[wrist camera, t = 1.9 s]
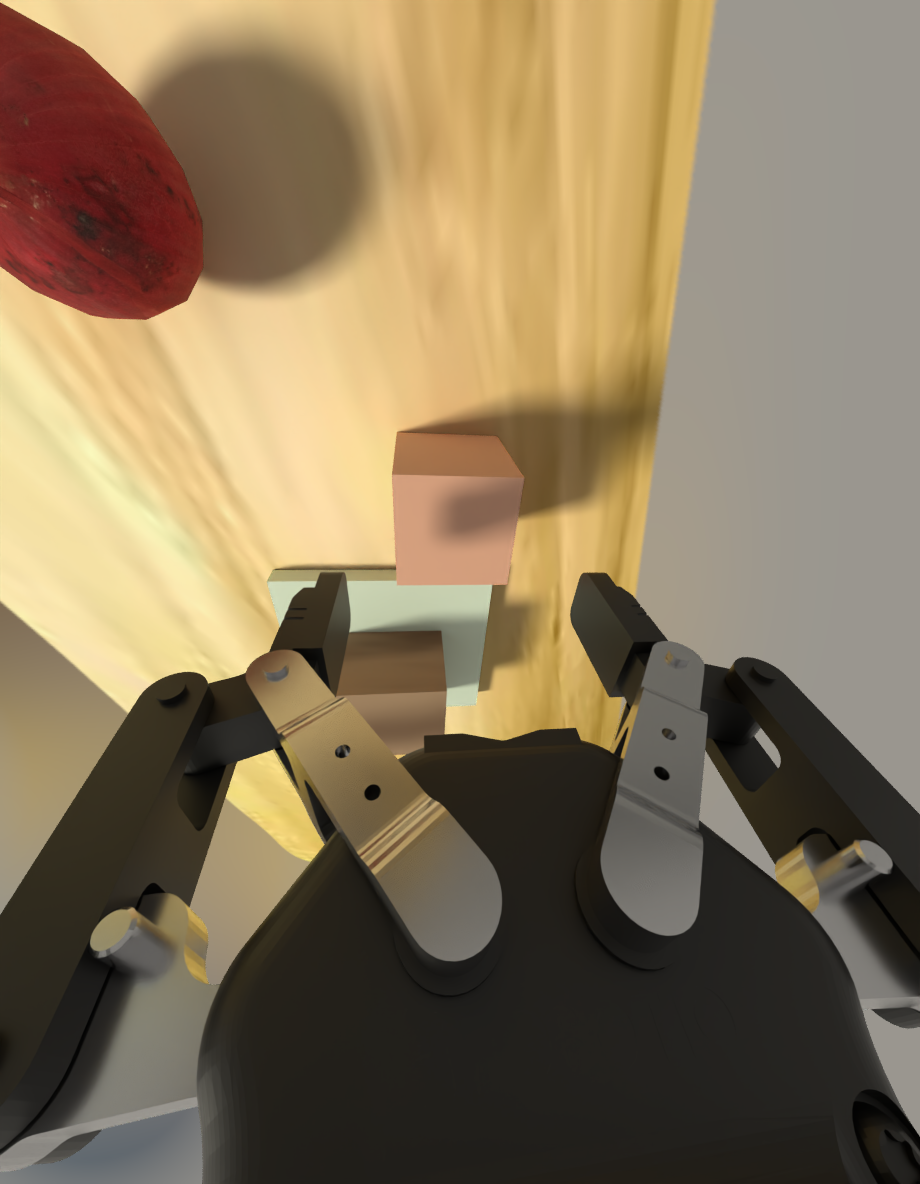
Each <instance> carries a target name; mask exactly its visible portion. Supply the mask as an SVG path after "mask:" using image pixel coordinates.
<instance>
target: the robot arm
mask: <svg viewBox="0 0 920 1184" xmlns="http://www.w3.org/2000/svg"><path fill="white" fill-rule="evenodd" d="M570 616H571V623H572V626H573V628H574V629H575V631H576V633H577V635H578V637H579V639H580V641H581V643H582V645H583V647H584V649H585V651H586V653H587V655H588V657H589V659H590V661H591V663H592V664H593V666H594V668H595V670H596V672H597V674H598V676H599V678H600V680H601V682H602V684H603V686H604V688H605V690H606V692H607V694H608V696H609V697H625V699H626V704H625V706H624V708H623V710H622V714H621V717H620V720H619V723H618V726H617V729H616V732H615V735H614V738H613V742H612V745H611V748H610V751H608V750H606V749H604V748H602V747H600V746H598V745H595V744H592V743H589V742H586V741H581V739H580V737H579V734H578V732H577V729H576V728H566V729H545V730H538V731H534V732H531V733H528V734H525V735H522V736H518V737H515V738H512V739H509V740H504V741H501V740H495V739H490V738H484V737H479V736H473V735H468V734H444V735H424V748H421V749H418V750H415V751H413V752H411V753H409V754H406V755H405V756H403V757H401V758H400V759H397V758H396V757H395V756H394V754H393V753H392V752H391V751H390V750H389V748H388V747H387V746H386V745H385V744H384V742H383V741H382V740H381V739H380V738H379V736H378V735H377V734H376V733H375V732H374V730H373V729H372V728H371V727H370V725H369V724H368V723H367V722H366V721H365V719H364V718H363V717H362V716H361V715H360V713H359V712H358V711H357V710H356V709H355V707H354V706H353V705H352V704H351V703H350V702H349V701H348V700H347V699H346V698H344V697H342V698H340V699H337V698H336V695H337V690H338V685H339V680H340V675H341V670H342V665H343V660H344V655H345V650H346V646H347V641H348V636H349V631H350V623H351V612H350V603H349V595H348V588H347V580H346V575H345V572H320V574H319V577H318V580H317V582H316V585H315V587H304V588H302V589H301V590H300V591H299V592H298V593H297V594H296V595H295V596H293V597H292V600H291V602H290V604H289V607H288V610H287V611H286V614H285V616H284V620H283V621H282V623H281V625H280V628H279V630H278V632H277V635H276V637H275V639H274V642H273V644H272V646H271V649H270V651H269V653H266V654H264V655H262V656H260V657H258V658H257V659H256V660H254V661H253V662H252V663H251V664H250V666H249V667H248V669H247V671H246V673H244V674H242V675H239V676H236V677H232V678H229V679H225V680H221V681H217V682H213V683H209V684H208V682H207V680H206V678H205V677H204V676H203V675H201V674H198V673H194V672H182V673H177V674H173V675H170V676H167V677H164V678H162V679H160V680H158V681H156V682H155V683H153V684H152V685H151V686H149V687H148V688H147V689H146V690H145V691H144V692H143V693H142V694H141V695H140V697H139V698H138V700H137V701H136V703H135V705H134V706H133V708H132V709H131V711H130V712H129V714H128V715H127V717H126V719H125V720H124V722H123V723H122V725H121V727H120V728H119V730H118V731H117V733H116V734H115V736H114V737H113V739H112V741H111V742H110V744H109V745H108V747H107V749H106V750H105V752H104V753H103V755H102V756H101V758H100V759H99V761H98V763H97V764H96V766H95V767H94V769H93V770H92V772H91V774H90V775H89V777H88V779H87V780H86V781H85V783H84V784H83V786H82V788H81V789H80V791H79V792H78V794H77V795H76V797H75V799H74V800H73V802H72V803H71V805H70V806H69V808H68V810H67V811H66V813H65V814H64V816H63V818H62V819H61V821H60V822H59V824H58V825H57V827H56V828H55V830H54V832H53V833H52V835H51V836H50V838H49V839H48V841H47V843H46V844H45V846H44V847H43V849H42V850H41V852H40V854H39V855H38V857H37V858H36V860H35V861H34V863H33V864H32V866H31V868H30V869H29V871H28V872H27V874H26V875H25V877H24V879H23V880H22V882H21V884H20V885H19V886H18V888H17V890H16V891H15V893H14V894H13V896H12V898H11V899H10V901H9V902H8V904H7V905H6V907H5V908H4V910H3V912H2V913H1V915H0V1172H8V1171H15V1170H19V1169H23V1168H25V1167H27V1166H29V1165H33V1164H46V1163H54V1162H57V1161H61V1160H63V1159H65V1158H68V1157H70V1156H71V1155H73V1154H75V1153H76V1152H78V1151H79V1150H81V1149H82V1148H83V1147H84V1146H85V1145H87V1144H88V1143H89V1142H90V1141H91V1140H92V1139H93V1138H94V1137H95V1136H96V1135H97V1134H98V1133H99V1132H100V1131H101V1130H102V1129H105V1128H109V1127H113V1126H117V1125H122V1124H125V1123H130V1122H134V1121H138V1120H142V1119H146V1118H151V1117H155V1116H159V1115H163V1114H167V1113H172V1112H175V1111H180V1110H184V1109H188V1108H193V1107H196V1106H198V1109H199V1116H200V1124H201V1133H202V1148H203V1180H202V1184H920V1136H919V1135H918V1133H917V1132H916V1130H915V1129H914V1127H913V1126H912V1124H911V1123H910V1121H909V1119H908V1118H907V1116H906V1114H905V1113H904V1111H903V1109H902V1107H901V1105H900V1103H899V1101H898V1099H897V1097H896V1095H895V1093H894V1091H893V1089H892V1087H891V1084H890V1082H889V1080H888V1078H887V1076H886V1074H885V1072H884V1070H883V1067H882V1064H881V1062H880V1060H879V1057H878V1055H877V1052H876V1050H875V1048H874V1045H873V1042H872V1039H871V1037H870V1034H869V1031H868V1028H867V1025H866V1022H865V1018H864V1014H863V1011H862V1009H872V1010H873V1011H874V1012H875V1013H876V1014H878V1015H879V1016H880V1017H882V1018H883V1019H885V1020H886V1021H888V1022H890V1023H892V1024H894V1025H897V1026H899V1027H903V1028H916V1027H920V814H919V813H918V812H917V811H916V810H915V809H914V808H913V807H912V806H911V805H910V804H909V803H908V802H907V801H906V800H905V799H904V798H903V797H902V796H901V795H900V794H899V792H898V791H897V790H896V789H895V788H893V786H892V785H891V784H890V783H889V782H888V781H887V780H886V779H885V778H884V777H883V776H882V775H881V774H880V773H879V772H878V771H877V770H876V769H875V767H874V766H872V764H871V763H870V762H869V761H868V760H867V759H866V758H865V757H864V756H863V755H862V754H861V753H860V752H859V751H858V750H857V749H856V748H855V747H854V746H853V745H852V744H851V743H850V742H849V740H848V739H847V738H845V736H844V735H843V734H842V733H841V732H840V731H839V730H838V729H837V728H836V727H835V726H834V725H833V724H832V723H831V722H830V721H829V720H828V719H827V718H826V717H825V716H824V715H823V714H822V712H821V711H820V710H819V709H817V707H816V706H815V705H814V704H813V703H812V702H811V701H810V700H809V699H808V698H807V697H806V696H805V695H804V694H803V693H802V692H801V691H800V690H799V689H798V687H797V686H795V684H794V683H793V682H792V681H791V680H790V679H789V678H788V677H787V676H786V675H785V674H784V673H783V672H781V671H780V670H779V669H777V668H776V667H774V666H773V665H771V664H769V663H767V662H764V661H761V660H759V659H755V658H749V657H742V658H739V659H737V660H736V661H735V662H734V664H733V665H732V667H731V668H730V669H727V668H722V667H718V666H713V665H708V664H704V662H703V660H702V659H701V658H700V656H699V655H698V654H696V653H695V652H694V651H693V650H691V649H690V648H688V647H686V646H684V645H682V644H679V643H675V642H671V641H668V640H667V639H666V637H665V636H664V635H663V634H662V632H661V631H660V630H659V629H658V627H657V626H656V625H655V623H654V622H653V621H652V620H651V618H650V617H649V616H648V615H646V612H645V611H644V609H643V608H642V607H640V604H639V603H638V602H637V600H636V599H635V598H634V597H633V595H631V594H630V593H628V592H627V591H625V590H624V589H623V588H621V587H617V586H616V585H615V584H614V582H613V581H612V580H611V578H610V577H609V576H608V574H606V573H583V574H582V575H581V576H580V579H579V582H578V586H577V589H576V593H575V596H574V600H573V603H572V606H571V613H570ZM760 728H762V730H763V731H764V732H765V733H766V735H767V736H768V737H769V739H770V740H771V741H772V742H773V743H774V745H775V746H776V748H777V749H778V751H779V754H780V757H781V764H780V767H779V768H777V767H776V765H775V764H774V763H773V761H772V760H771V758H770V757H769V756H768V754H767V753H766V752H765V750H764V749H763V748H762V746H761V745H760V744H759V742H758V741H757V740H756V738H755V737H754V735H755V734H756V733H757V732H758V731H759V729H760ZM270 750H273V751H274V753H275V755H276V756H277V758H278V760H279V762H280V763H281V765H282V767H283V769H284V770H285V772H286V774H287V775H288V777H289V779H290V781H291V782H292V784H293V786H294V788H295V789H296V791H297V793H298V795H299V796H300V798H301V800H302V802H303V804H304V806H305V808H306V810H307V813H308V815H309V817H310V819H311V821H312V823H313V825H314V827H315V828H316V830H317V832H318V834H319V836H320V837H321V839H322V841H323V842H324V844H325V845H324V846H323V848H322V849H321V850H320V851H319V853H318V854H317V855H316V856H315V858H314V859H313V860H312V861H311V863H310V864H309V865H308V866H307V868H306V869H305V870H304V871H303V873H302V874H301V875H300V876H299V878H298V879H297V880H296V881H295V883H294V884H293V885H292V886H291V888H290V889H289V890H288V891H287V893H286V894H285V895H284V896H283V898H282V899H281V900H280V902H279V903H278V904H277V905H276V906H275V908H274V909H273V910H272V911H271V913H270V914H269V915H268V917H267V918H266V919H265V920H264V921H263V923H262V924H261V925H260V926H259V928H258V929H257V930H256V932H255V933H254V934H253V935H252V936H251V938H250V939H249V940H248V941H247V943H246V944H245V945H244V947H243V948H242V949H241V951H240V952H239V953H238V955H237V956H236V958H235V959H234V961H233V962H232V964H231V966H230V967H229V969H228V971H227V973H226V974H225V976H224V978H223V980H222V982H221V984H217V985H211V984H209V982H208V980H207V976H206V971H205V961H206V954H207V948H208V933H207V929H206V926H205V924H204V922H203V921H202V920H201V919H200V918H199V917H198V916H197V915H196V914H195V913H194V912H193V911H192V910H191V909H190V908H189V907H190V904H191V900H192V898H193V894H194V891H195V888H196V885H197V882H198V879H199V876H200V873H201V870H202V867H203V864H204V861H205V857H206V855H207V851H208V848H209V845H210V842H211V839H212V836H213V833H214V830H215V827H216V824H217V821H218V818H219V815H220V812H221V809H222V806H223V803H224V800H225V797H226V794H227V791H228V788H229V785H230V781H231V778H232V775H233V772H234V769H235V766H236V763H237V761H240V760H243V759H246V758H249V757H252V756H255V755H258V754H261V753H264V752H267V751H270ZM705 750H706V752H707V754H708V755H709V757H710V758H711V760H712V762H713V763H714V765H715V767H716V768H717V770H718V772H719V773H720V775H721V776H722V778H723V780H724V781H725V783H726V784H727V786H728V788H729V790H730V791H731V793H732V794H733V796H734V798H735V799H736V801H737V803H738V804H739V806H740V807H741V809H742V811H743V813H744V814H745V816H746V817H747V819H748V821H749V822H750V824H751V826H752V827H753V829H754V831H755V832H756V834H757V835H758V837H759V839H760V840H761V842H762V844H763V845H764V847H765V849H766V850H767V852H768V853H769V855H770V857H771V858H772V860H773V862H774V863H775V865H776V866H775V873H776V879H777V881H775V880H774V879H773V878H771V877H770V876H769V875H767V874H766V873H765V872H764V871H763V870H761V869H760V868H759V867H758V866H756V865H755V864H754V863H752V862H751V861H750V860H749V859H747V858H746V857H745V856H744V855H742V854H741V853H740V852H739V851H737V850H736V849H735V848H734V847H732V846H731V845H730V844H729V843H727V842H726V841H725V840H723V839H722V838H721V837H719V836H718V835H717V834H716V833H715V832H713V831H712V830H711V829H710V828H708V827H707V826H706V825H704V824H703V823H702V822H701V821H699V813H700V802H701V791H702V780H703V779H702V778H703V768H704V757H705Z"/></svg>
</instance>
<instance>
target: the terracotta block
mask: <svg viewBox="0 0 920 1184" xmlns="http://www.w3.org/2000/svg"><path fill="white" fill-rule="evenodd" d="M392 484H393V507H394V530H395V554H396V577H397V585H507V582H508V576H509V570H510V564H511V558H512V551H513V545H514V539H515V533H516V527H517V521H518V515H519V509H520V503H521V497H522V491H523V485H524V476H523V475H522V473H521V472H520V470H519V469H518V467H517V466H516V464H515V463H514V461H513V460H512V458H511V457H510V455H509V454H508V452H507V450H506V449H505V447H504V446H503V444H502V443H501V441H500V440H499V438H498V437H497V436H483V435H457V434H431V433H405V432H397V436H396V445H395V454H394V462H393V471H392Z"/></svg>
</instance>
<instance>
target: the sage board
mask: <svg viewBox="0 0 920 1184" xmlns="http://www.w3.org/2000/svg"><path fill="white" fill-rule="evenodd" d="M320 572H345V575H346V580H347V588H348V595H349V603H350V612H351V623H350V631H349V633H350V632H395V631H440V630H441V632H442V643H443V654H444V664H445V675H446V686H447V699H446V707H448V706H470V705H476V701H477V694H478V687H479V679H480V672H481V665H482V658H483V650H484V643H485V636H486V628H487V621H488V614H489V606H490V599H491V592H492V585H397V577H396V570H273V571H272V573H271V575H270V577H269V578H268V580H267V584H268V587H269V591H270V594H271V598H272V601H273V605H274V608H275V612H276V615H277V619H278V622H279V626H280V625H281V623H282V621H283V620H284V616H285V614H286V611H287V610H288V607H289V604H290V602H291V600H292V597H293V596H295V595H296V594H297V593H298V592H299V591H300V590H301V589H302V588H304V587H315V585H316V582H317V580H318V577H319V574H320Z"/></svg>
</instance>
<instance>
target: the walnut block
mask: <svg viewBox="0 0 920 1184" xmlns="http://www.w3.org/2000/svg"><path fill="white" fill-rule="evenodd" d="M342 697H344V698H346V699H347V700H348V701H349V702H350V703H351V704H352V705H353V706H354V707H355V709H356V710H357V711H358V712H359V713H360V715H361V716H362V717H363V718H364V719H365V721H366V722H367V723H368V724H369V725H370V727H371V728H372V729H373V730H374V732H375V733H376V734H377V735H378V736H379V738H380V739H381V740H382V741H383V742H384V744H385V745H386V746H387V747H388V748H389V750H390V751H391V752H392V753H393V754H394V755H401V754H409V753H411V752H413V751H415V750H418V749H421V748H424V735H444V730H445V715H446V699H447V686H446V675H445V664H444V654H443V643H442V632H441V630H440V631H395V632H350V633H349V636H348V641H347V646H346V650H345V655H344V660H343V665H342V670H341V675H340V680H339V685H338V690H337V695H336V698H337V699H340V698H342Z"/></svg>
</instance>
